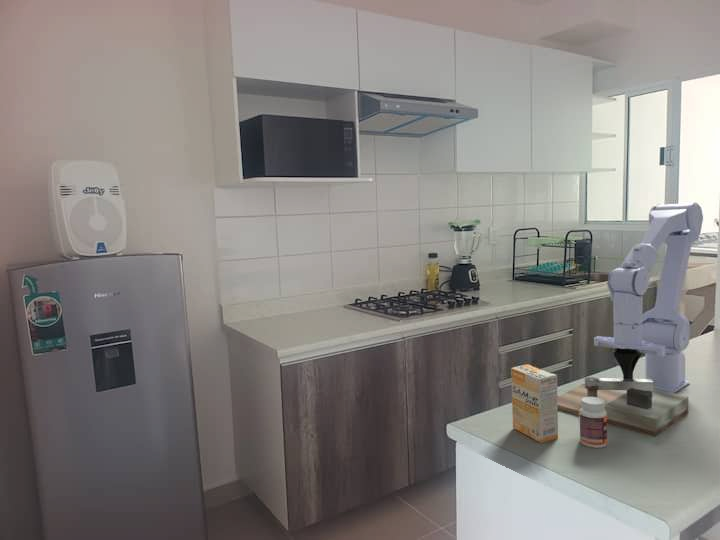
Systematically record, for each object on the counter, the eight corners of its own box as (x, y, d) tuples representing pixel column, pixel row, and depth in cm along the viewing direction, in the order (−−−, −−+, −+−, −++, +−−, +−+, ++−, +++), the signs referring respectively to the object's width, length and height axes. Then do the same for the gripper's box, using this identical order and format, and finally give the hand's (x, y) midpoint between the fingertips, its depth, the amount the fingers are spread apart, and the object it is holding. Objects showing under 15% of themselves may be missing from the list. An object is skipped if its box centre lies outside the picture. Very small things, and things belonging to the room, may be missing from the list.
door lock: (583, 387, 125) (582, 362, 125) (688, 412, 107) (688, 382, 107) (546, 406, 116) (546, 378, 115) (655, 436, 98) (655, 404, 97)
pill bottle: (610, 448, 94) (610, 405, 93) (583, 448, 95) (582, 404, 94) (603, 437, 99) (603, 395, 98) (577, 436, 100) (576, 395, 99)
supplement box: (511, 429, 105) (509, 367, 104) (530, 423, 107) (528, 363, 106) (540, 444, 98) (538, 378, 96) (559, 438, 99) (557, 373, 98)
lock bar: (586, 390, 113) (585, 381, 113) (583, 385, 116) (583, 377, 116) (654, 391, 109) (654, 382, 109) (650, 387, 112) (650, 378, 112)
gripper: (586, 321, 116) (587, 379, 117) (655, 330, 104) (655, 394, 106) (602, 315, 120) (602, 371, 121) (669, 323, 109) (669, 385, 110)
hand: (628, 381), depth 114 cm, fingers closed, pressing on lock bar
